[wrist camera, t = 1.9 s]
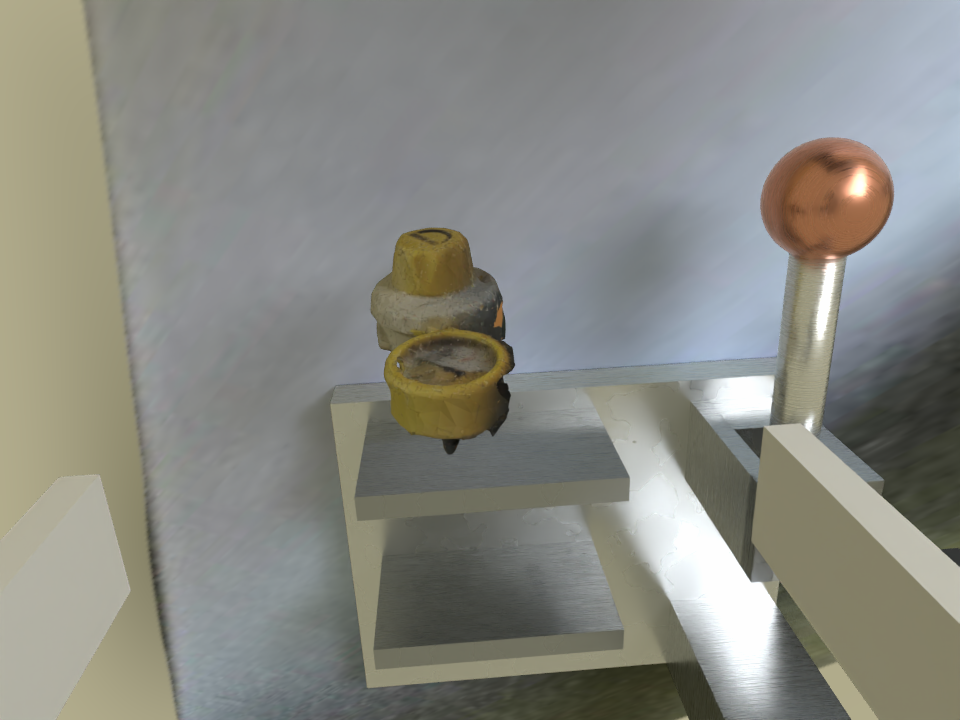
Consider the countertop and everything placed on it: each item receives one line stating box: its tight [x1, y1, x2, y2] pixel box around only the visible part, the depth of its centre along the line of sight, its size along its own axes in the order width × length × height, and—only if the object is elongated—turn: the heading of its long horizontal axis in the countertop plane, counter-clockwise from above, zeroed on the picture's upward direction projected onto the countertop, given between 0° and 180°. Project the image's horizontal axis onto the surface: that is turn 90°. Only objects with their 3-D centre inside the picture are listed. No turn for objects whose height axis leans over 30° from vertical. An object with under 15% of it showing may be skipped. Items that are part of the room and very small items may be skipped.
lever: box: [760, 137, 894, 440], centre depth 26 cm, size 14×4×4 cm, turn 2°
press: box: [330, 357, 884, 720], centre depth 27 cm, size 16×21×20 cm
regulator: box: [371, 228, 515, 455], centre depth 24 cm, size 8×4×15 cm, turn 4°
